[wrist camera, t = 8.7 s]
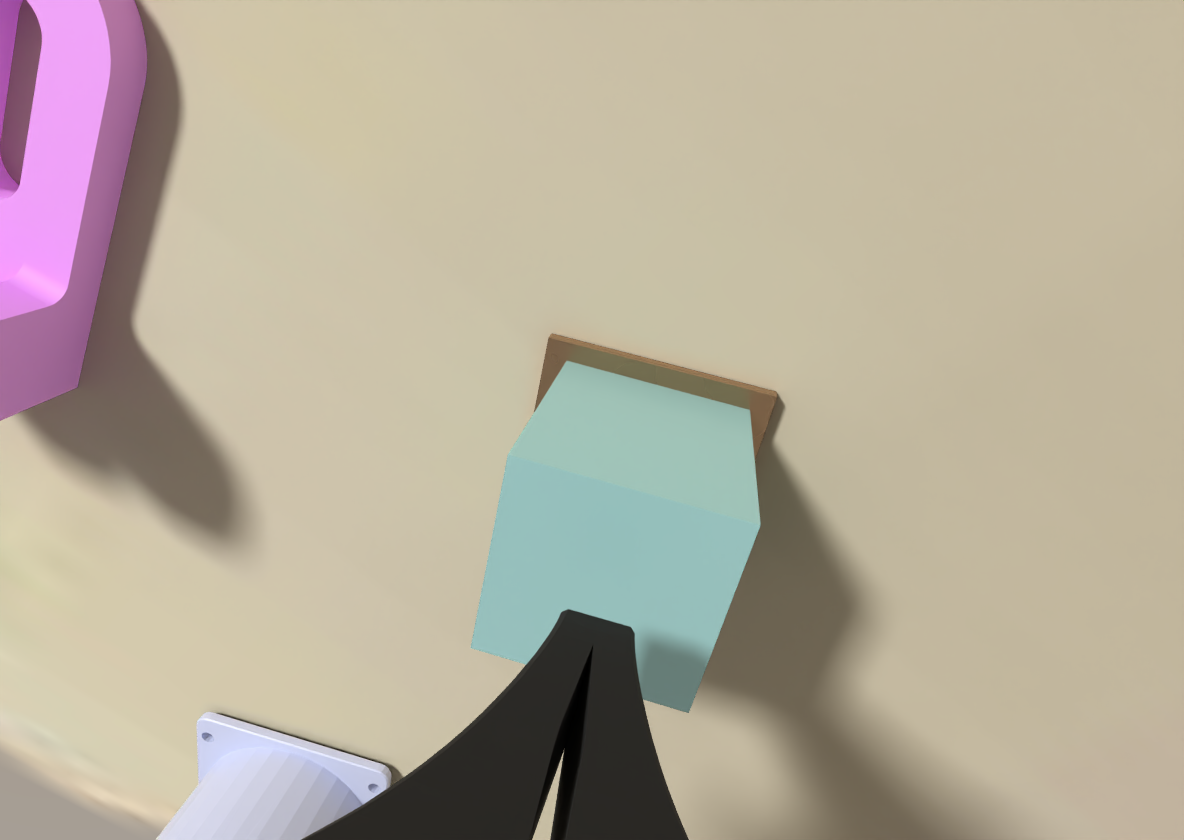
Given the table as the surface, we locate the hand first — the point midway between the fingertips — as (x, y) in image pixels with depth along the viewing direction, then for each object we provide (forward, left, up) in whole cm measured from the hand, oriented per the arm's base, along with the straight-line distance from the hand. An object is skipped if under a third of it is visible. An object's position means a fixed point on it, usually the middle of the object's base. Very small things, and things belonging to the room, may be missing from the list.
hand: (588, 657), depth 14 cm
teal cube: (0, 0, -8) cm, 8 cm away
